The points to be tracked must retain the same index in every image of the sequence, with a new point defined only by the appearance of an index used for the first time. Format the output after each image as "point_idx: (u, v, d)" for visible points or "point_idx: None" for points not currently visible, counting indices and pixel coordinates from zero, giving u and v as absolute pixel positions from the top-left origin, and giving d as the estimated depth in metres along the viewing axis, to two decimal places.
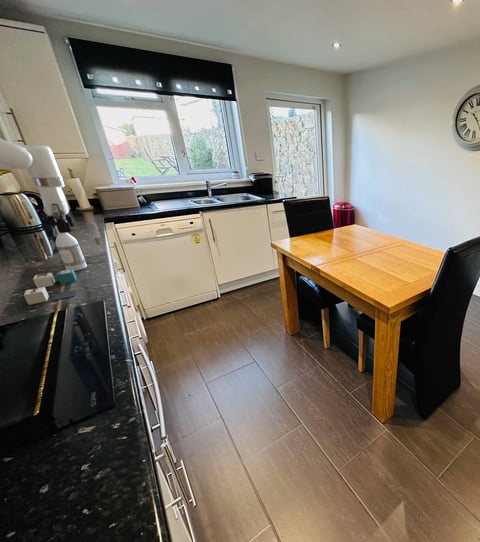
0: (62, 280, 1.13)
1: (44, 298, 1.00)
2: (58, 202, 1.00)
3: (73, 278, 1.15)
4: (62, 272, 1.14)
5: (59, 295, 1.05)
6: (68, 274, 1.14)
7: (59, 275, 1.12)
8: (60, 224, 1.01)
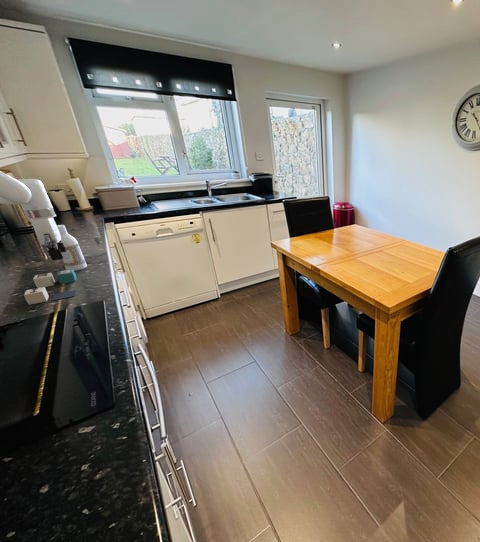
0: (62, 280, 1.13)
1: (44, 298, 1.00)
2: (50, 232, 1.05)
3: (73, 278, 1.15)
4: (62, 272, 1.14)
5: (59, 295, 1.05)
6: (68, 274, 1.14)
7: (59, 275, 1.12)
8: (52, 252, 1.07)
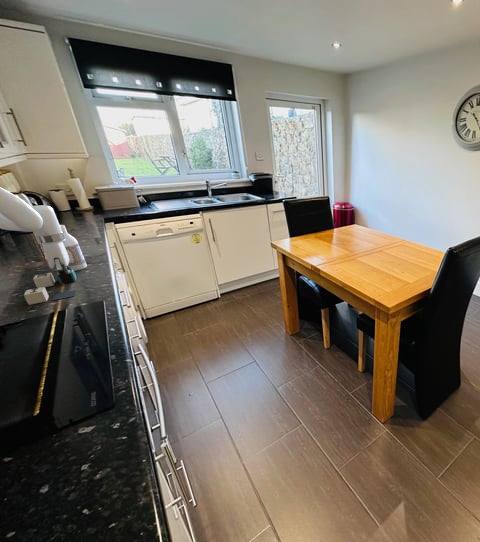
0: None
1: (44, 298, 1.00)
2: (60, 256, 1.09)
3: (73, 278, 1.15)
4: None
5: (59, 295, 1.05)
6: None
7: None
8: (63, 276, 1.12)
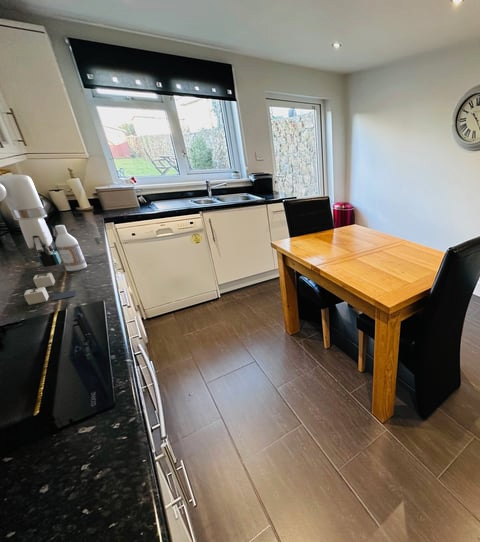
0: None
1: (44, 298, 1.00)
2: (40, 234, 0.94)
3: (57, 261, 1.01)
4: None
5: (59, 295, 1.05)
6: None
7: None
8: (44, 258, 0.97)
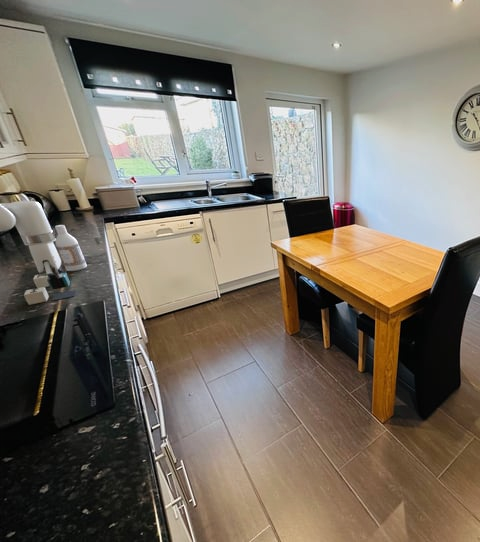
0: None
1: (44, 298, 1.00)
2: (49, 259, 0.96)
3: (66, 283, 1.03)
4: None
5: (59, 295, 1.05)
6: None
7: None
8: (54, 281, 1.00)
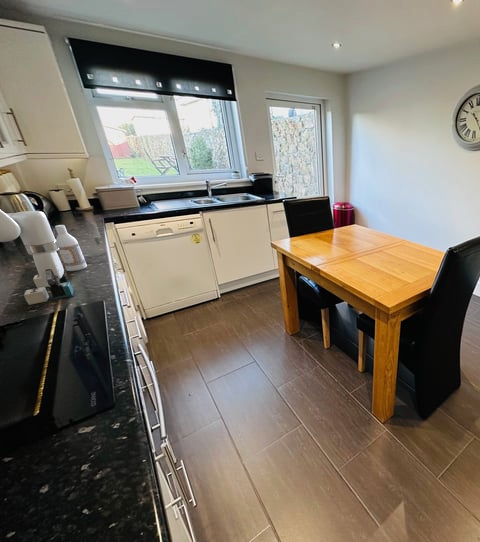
0: None
1: (44, 298, 1.00)
2: (53, 268, 0.97)
3: (69, 292, 1.04)
4: None
5: None
6: (64, 288, 1.03)
7: None
8: (54, 289, 0.99)
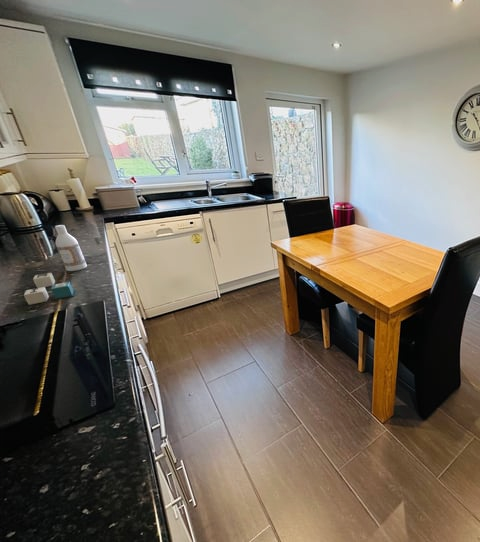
0: (57, 294, 1.02)
1: (44, 298, 1.00)
2: None
3: (69, 292, 1.04)
4: (57, 285, 1.03)
5: None
6: (64, 288, 1.03)
7: (54, 289, 1.01)
8: None
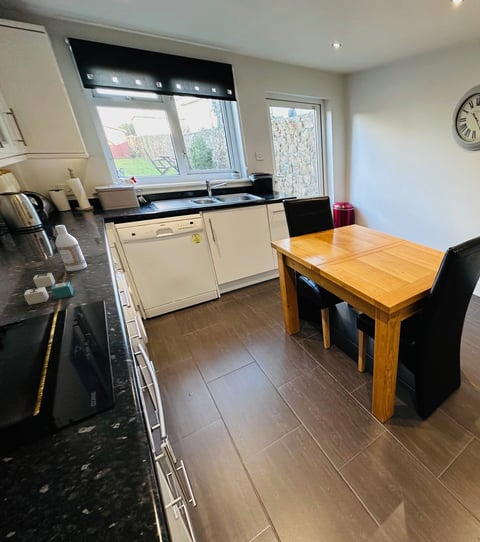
0: (57, 294, 1.02)
1: (44, 298, 1.00)
2: None
3: (69, 292, 1.04)
4: (57, 285, 1.03)
5: None
6: (64, 288, 1.03)
7: (54, 289, 1.01)
8: None
